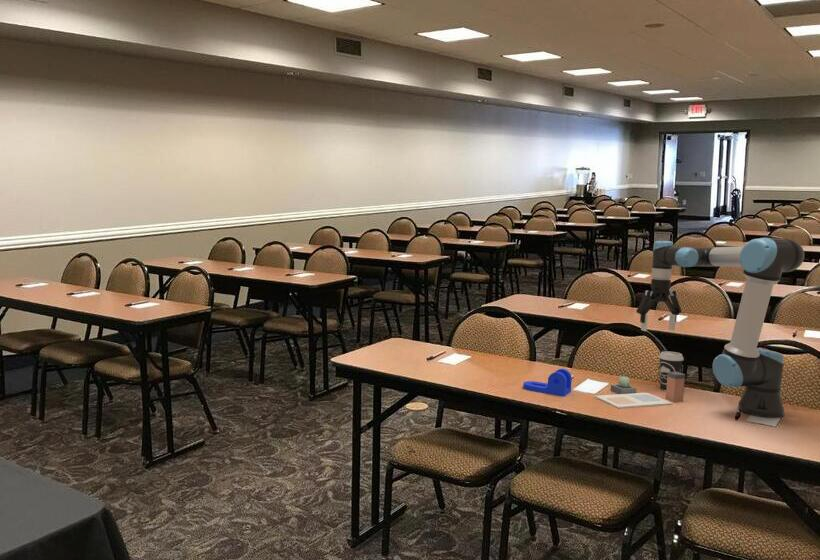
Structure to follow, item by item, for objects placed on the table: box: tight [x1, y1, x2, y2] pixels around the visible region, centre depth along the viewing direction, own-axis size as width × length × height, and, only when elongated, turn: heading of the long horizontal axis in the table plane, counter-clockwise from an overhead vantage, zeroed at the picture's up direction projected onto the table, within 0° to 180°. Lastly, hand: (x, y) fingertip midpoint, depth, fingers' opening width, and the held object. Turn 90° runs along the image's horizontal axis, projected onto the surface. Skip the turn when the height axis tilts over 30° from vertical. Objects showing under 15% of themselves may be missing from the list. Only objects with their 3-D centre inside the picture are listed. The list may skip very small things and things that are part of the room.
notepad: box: [594, 392, 674, 410], centre depth 263 cm, size 15×24×1 cm, turn 109°
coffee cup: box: [658, 350, 685, 391], centre depth 281 cm, size 10×10×15 cm
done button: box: [618, 376, 630, 388], centre depth 274 cm, size 4×4×4 cm
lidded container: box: [665, 372, 686, 403], centre depth 265 cm, size 5×5×11 cm
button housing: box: [610, 383, 637, 394], centre depth 275 cm, size 7×7×2 cm
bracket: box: [522, 368, 573, 398], centre depth 273 cm, size 18×8×9 cm, turn 60°
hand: (657, 330), depth 284 cm, fingers open, 13 cm apart
